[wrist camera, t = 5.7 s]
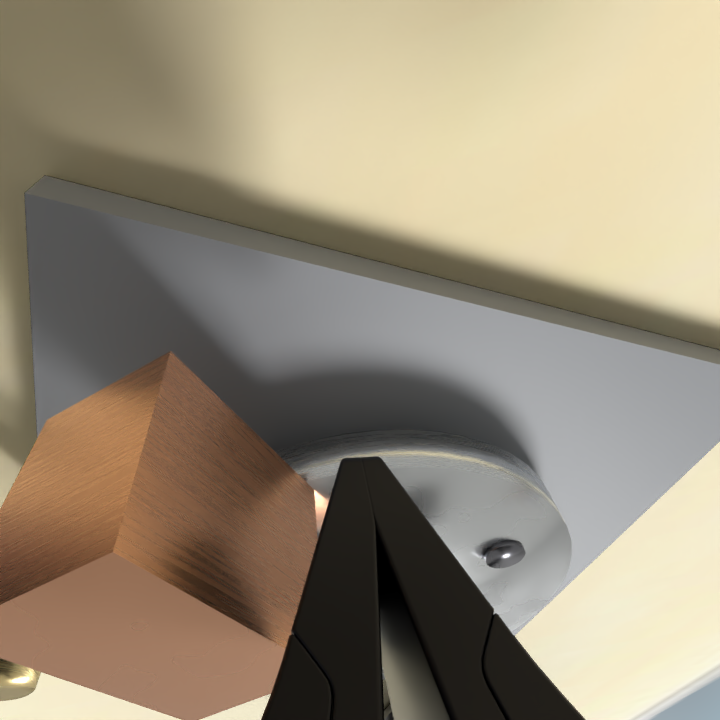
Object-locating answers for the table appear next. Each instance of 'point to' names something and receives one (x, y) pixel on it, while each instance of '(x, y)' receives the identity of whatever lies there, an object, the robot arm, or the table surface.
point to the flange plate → (224, 539)
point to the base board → (363, 351)
